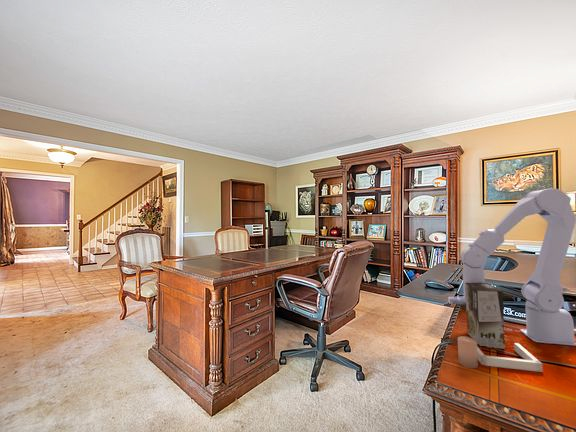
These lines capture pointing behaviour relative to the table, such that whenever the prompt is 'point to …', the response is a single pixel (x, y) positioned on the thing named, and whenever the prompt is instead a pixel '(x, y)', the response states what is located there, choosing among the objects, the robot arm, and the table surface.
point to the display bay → (512, 360)
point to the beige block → (467, 352)
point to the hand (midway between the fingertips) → (475, 327)
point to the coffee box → (485, 314)
